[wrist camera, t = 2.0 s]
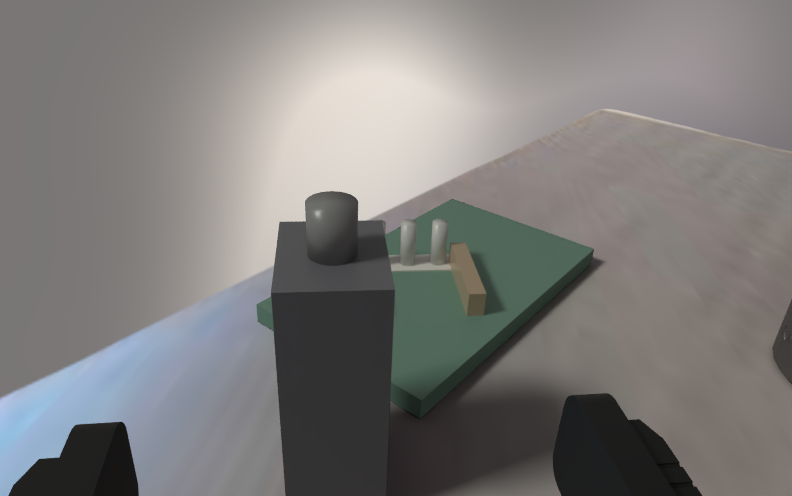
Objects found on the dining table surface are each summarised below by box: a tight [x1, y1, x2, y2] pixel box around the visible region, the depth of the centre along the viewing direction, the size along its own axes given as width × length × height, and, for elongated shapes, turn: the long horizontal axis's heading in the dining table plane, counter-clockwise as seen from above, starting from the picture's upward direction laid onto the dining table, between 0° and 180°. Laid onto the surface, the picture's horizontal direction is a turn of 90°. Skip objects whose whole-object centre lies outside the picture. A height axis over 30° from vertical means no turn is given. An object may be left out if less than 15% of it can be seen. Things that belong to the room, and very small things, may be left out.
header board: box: [257, 199, 594, 419], centre depth 40 cm, size 20×12×4 cm, turn 141°
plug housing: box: [271, 191, 395, 496], centre depth 25 cm, size 4×5×13 cm
